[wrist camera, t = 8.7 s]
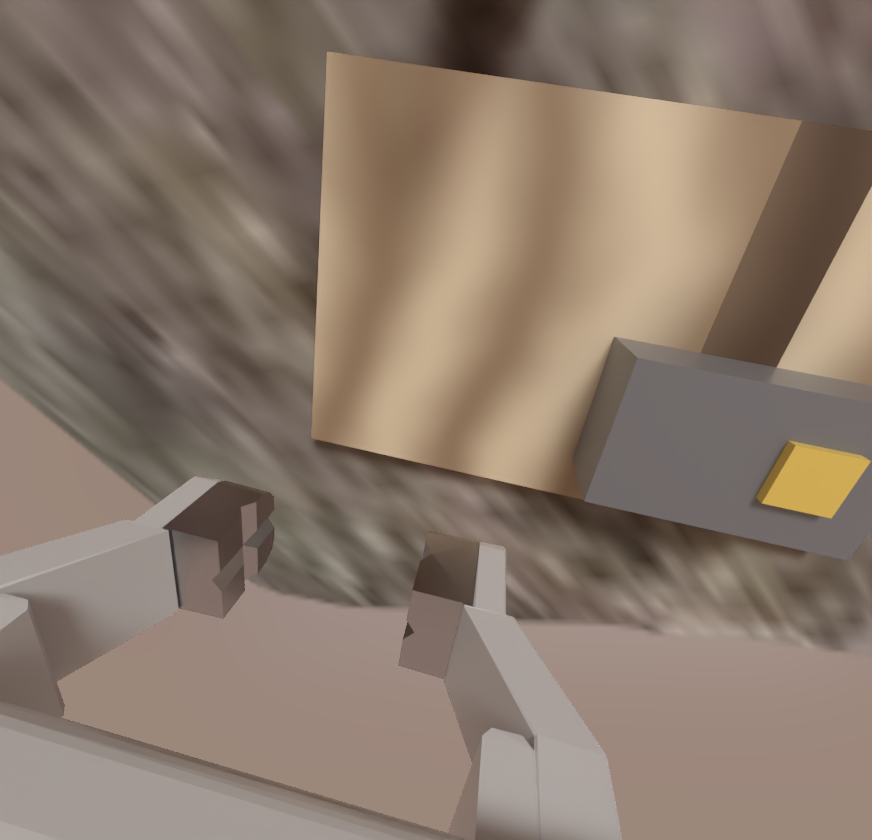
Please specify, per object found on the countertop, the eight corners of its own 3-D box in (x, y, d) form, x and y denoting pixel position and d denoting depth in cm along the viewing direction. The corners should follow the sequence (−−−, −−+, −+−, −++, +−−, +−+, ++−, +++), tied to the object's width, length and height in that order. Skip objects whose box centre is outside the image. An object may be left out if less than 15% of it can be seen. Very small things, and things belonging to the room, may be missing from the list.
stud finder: (572, 459, 20) (585, 507, 16) (614, 336, 17) (641, 360, 14) (791, 507, 19) (855, 568, 15) (868, 385, 17) (966, 424, 13)
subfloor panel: (320, 428, 23) (311, 438, 22) (339, 64, 16) (327, 51, 15) (818, 540, 21) (835, 557, 20) (1073, 172, 14) (1120, 167, 13)
